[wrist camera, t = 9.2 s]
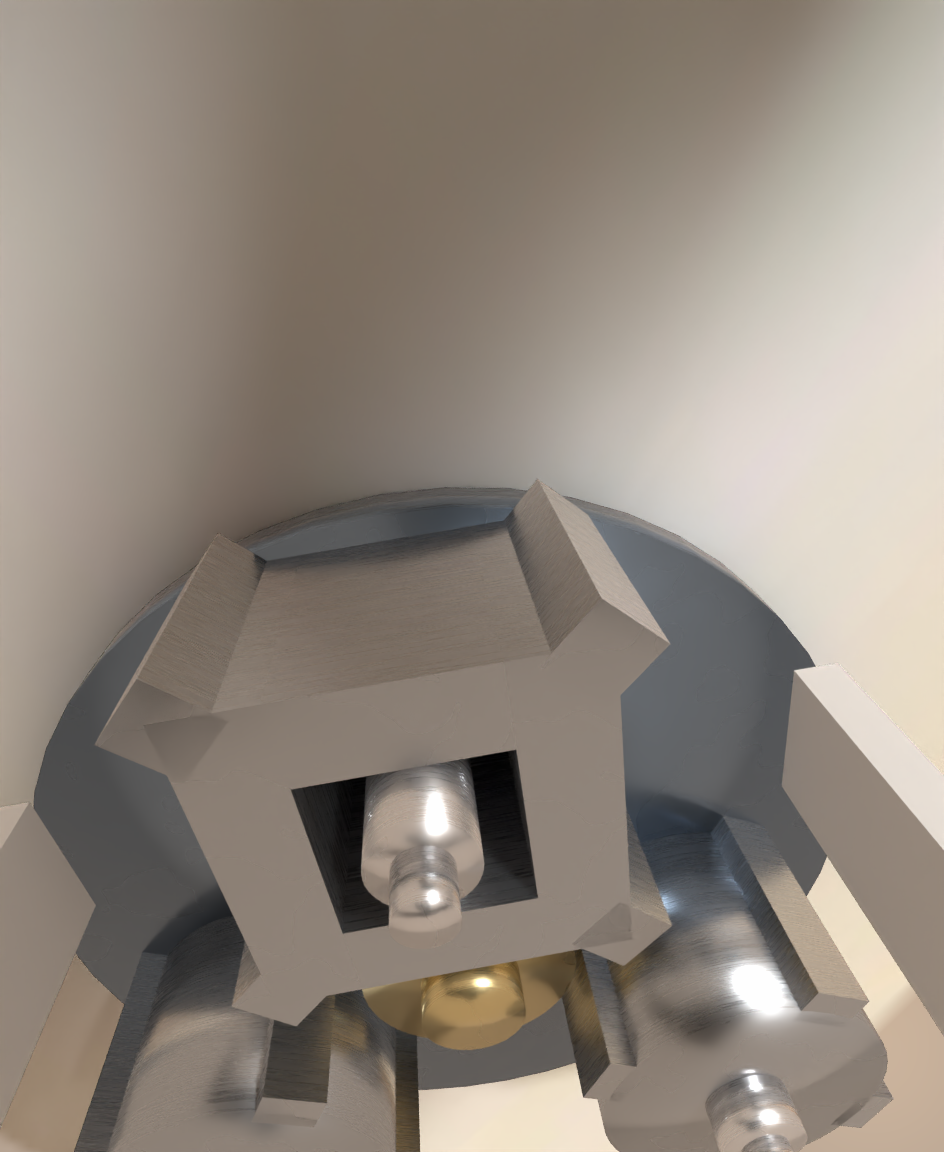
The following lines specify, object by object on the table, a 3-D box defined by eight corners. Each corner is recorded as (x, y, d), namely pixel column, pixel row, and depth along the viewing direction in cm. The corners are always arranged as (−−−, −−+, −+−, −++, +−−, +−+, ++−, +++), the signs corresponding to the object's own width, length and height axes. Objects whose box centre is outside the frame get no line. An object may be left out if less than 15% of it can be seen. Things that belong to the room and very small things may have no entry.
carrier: (131, 335, 13) (-145, 463, 7) (980, 639, 19) (1308, 878, 12) (11, 1010, 22) (-160, 1365, 15) (615, 1081, 28) (687, 1364, 21)
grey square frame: (169, 540, 14) (65, 691, 10) (585, 470, 14) (669, 585, 10) (282, 835, 18) (246, 1035, 14) (605, 777, 18) (672, 957, 14)
